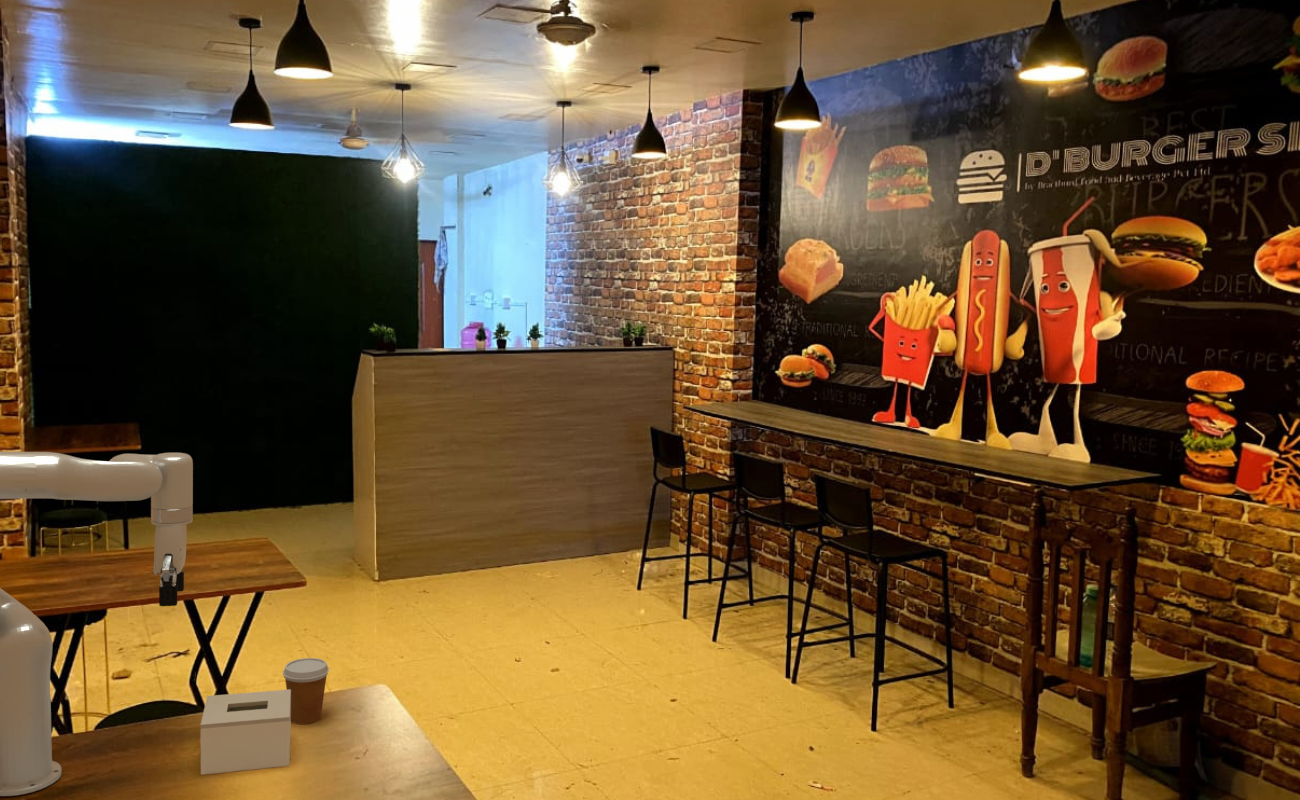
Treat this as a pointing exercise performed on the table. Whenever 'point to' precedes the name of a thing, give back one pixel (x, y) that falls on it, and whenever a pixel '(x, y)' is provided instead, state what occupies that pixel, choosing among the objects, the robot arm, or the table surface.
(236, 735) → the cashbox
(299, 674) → the disposable coffee cup
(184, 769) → the table surface
